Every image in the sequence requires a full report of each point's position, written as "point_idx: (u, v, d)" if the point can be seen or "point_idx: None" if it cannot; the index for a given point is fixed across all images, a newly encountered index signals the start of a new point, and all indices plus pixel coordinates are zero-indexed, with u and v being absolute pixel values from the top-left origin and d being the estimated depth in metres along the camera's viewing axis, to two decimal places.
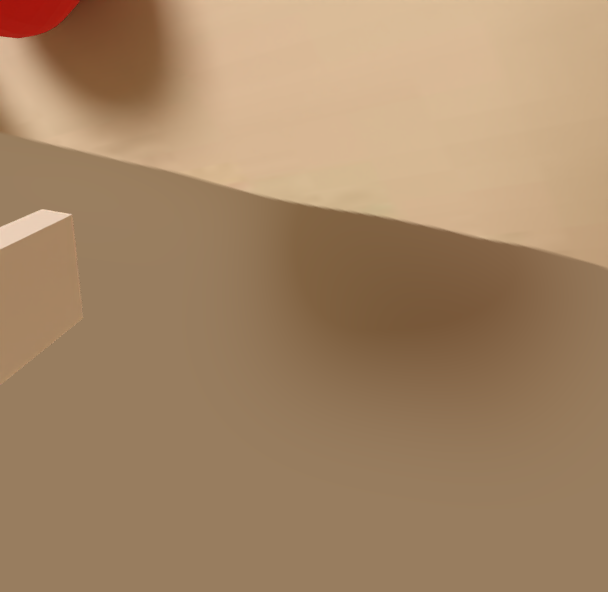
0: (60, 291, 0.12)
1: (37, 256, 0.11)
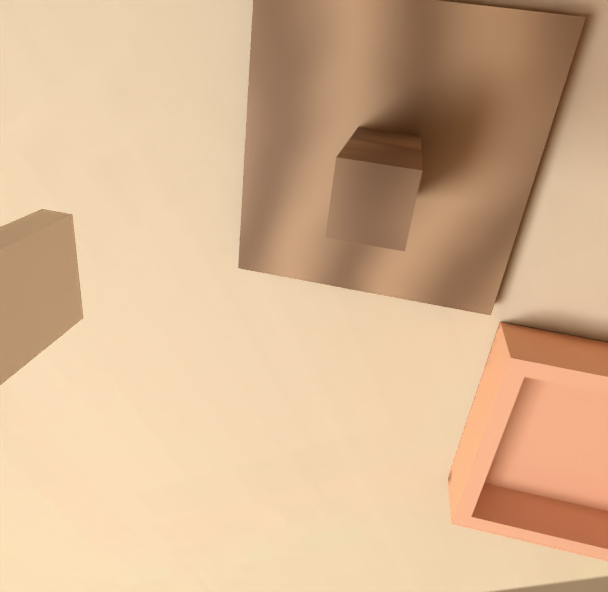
0: (60, 291, 0.12)
1: (37, 256, 0.11)
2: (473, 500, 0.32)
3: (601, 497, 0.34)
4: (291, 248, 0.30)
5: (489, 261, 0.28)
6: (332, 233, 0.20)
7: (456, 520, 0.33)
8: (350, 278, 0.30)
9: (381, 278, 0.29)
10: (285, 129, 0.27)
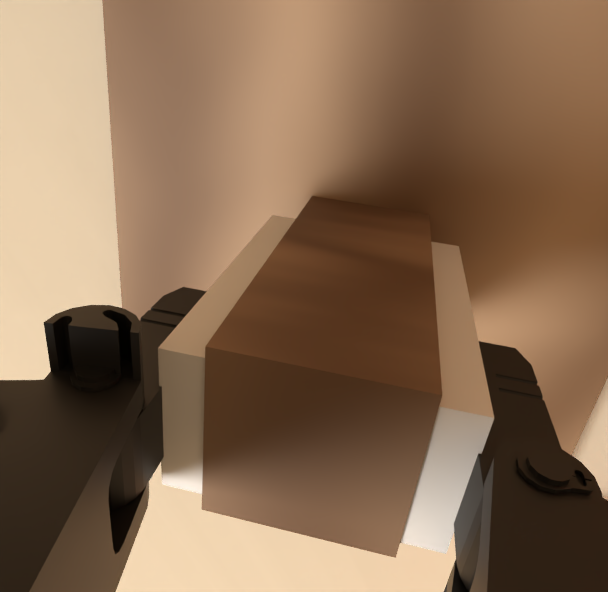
0: None
1: None
2: None
3: None
4: None
5: None
6: (217, 503, 0.08)
7: None
8: None
9: None
10: (182, 197, 0.15)
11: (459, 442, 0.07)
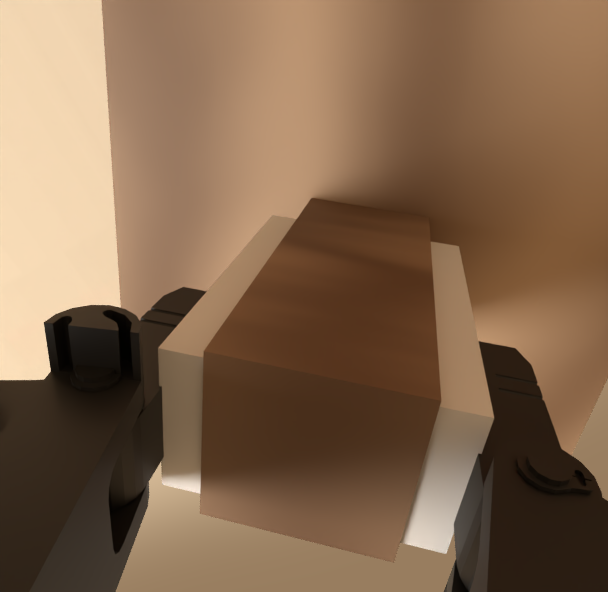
0: None
1: None
2: None
3: None
4: None
5: None
6: (215, 507, 0.08)
7: None
8: None
9: None
10: (181, 198, 0.15)
11: (459, 442, 0.07)
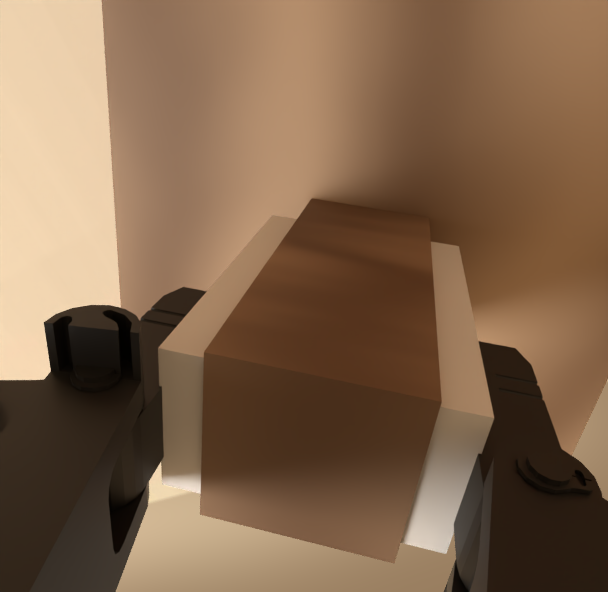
0: None
1: None
2: None
3: None
4: None
5: None
6: (215, 508, 0.08)
7: None
8: None
9: None
10: (182, 199, 0.15)
11: (459, 442, 0.07)
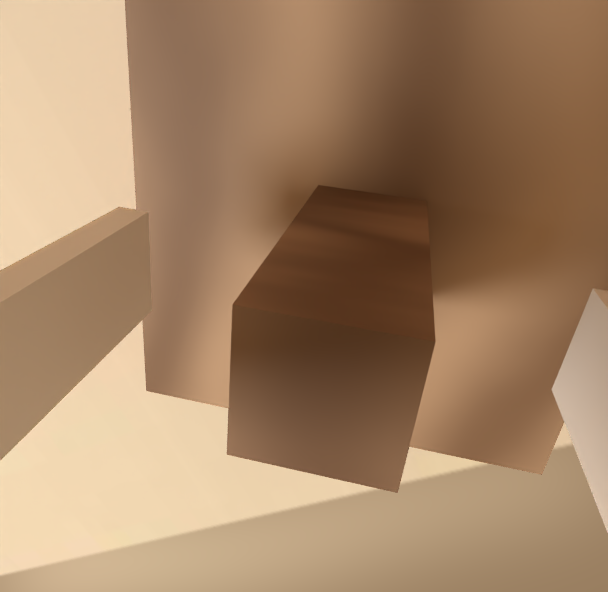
0: (136, 284, 0.12)
1: (121, 251, 0.11)
2: None
3: None
4: (222, 366, 0.19)
5: (542, 397, 0.17)
6: (240, 448, 0.09)
7: None
8: None
9: None
10: (198, 187, 0.16)
11: None
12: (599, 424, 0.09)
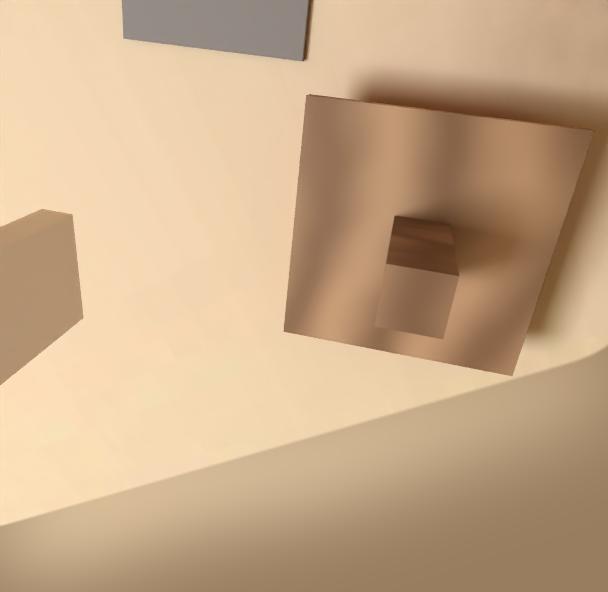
0: (60, 291, 0.12)
1: (37, 256, 0.11)
2: None
3: None
4: (332, 315, 0.33)
5: (511, 329, 0.31)
6: (380, 323, 0.24)
7: None
8: (385, 342, 0.33)
9: (413, 342, 0.33)
10: (329, 216, 0.31)
11: None
12: None
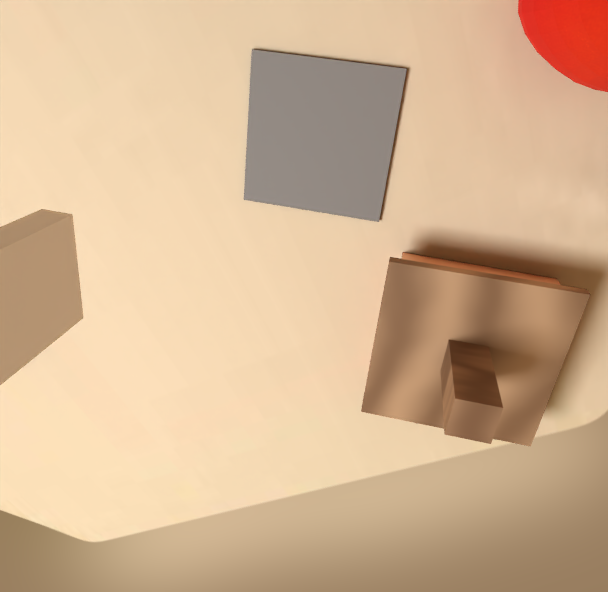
0: (60, 291, 0.12)
1: (37, 256, 0.11)
2: None
3: None
4: (398, 402, 0.45)
5: (530, 415, 0.43)
6: (449, 432, 0.36)
7: None
8: (437, 421, 0.46)
9: None
10: (401, 337, 0.43)
11: None
12: None
